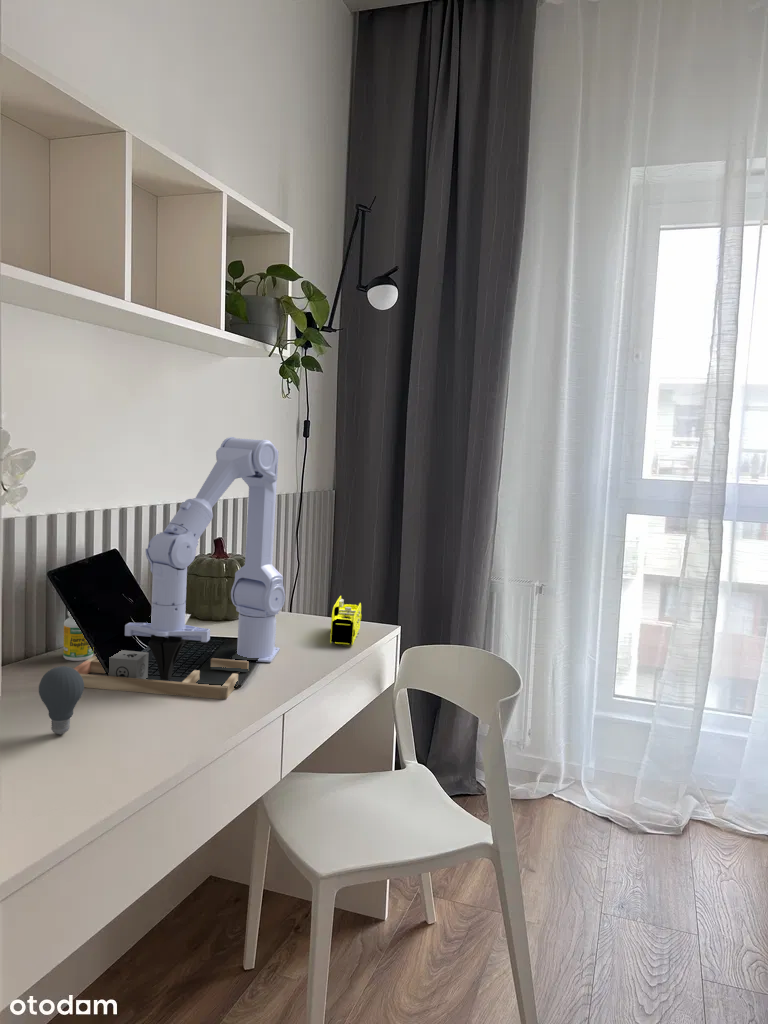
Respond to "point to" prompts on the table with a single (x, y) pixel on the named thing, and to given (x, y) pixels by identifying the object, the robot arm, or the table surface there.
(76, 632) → the supplement bottle
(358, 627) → the yellow toy chassis
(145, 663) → the dice cube
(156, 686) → the light wood flat frame
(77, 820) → the table surface
